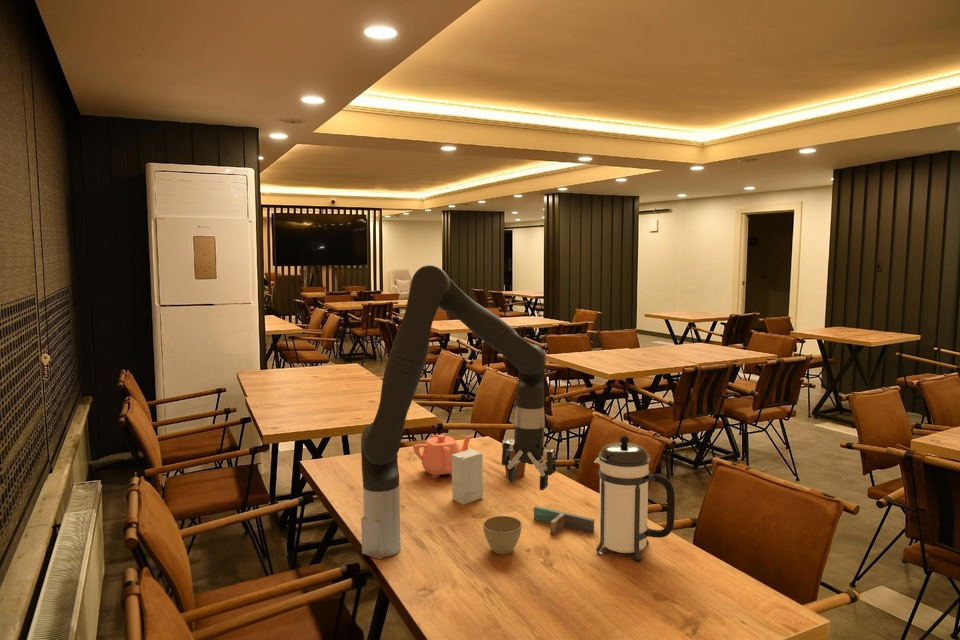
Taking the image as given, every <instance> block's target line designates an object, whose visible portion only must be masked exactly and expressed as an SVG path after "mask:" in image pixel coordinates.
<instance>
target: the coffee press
mask: <svg viewBox="0 0 960 640" xmlns="http://www.w3.org/2000/svg"><path fill="white" fill-rule="evenodd" d="M650 462H651V456H650V454H649V453H648V450H646V449H645V447H643V446H641V445H639V444H637V443H632V442H630V438H629V437H628V436H627V435H622V436H620V438H619V441H617V442H610V443H608V444H606V445H604V446H602V449H601V450H600V451H599V453H598V457H596V459H595V460H594V461H593V463H594V464H598V465H599V468H598V477H599V521H598V522H599V525H598V526H599V527H598V528H599V531H598V532H599V533H598V534H599V535H598V536H599V537H598V538H599V544H598V546H597V547H596V550H595V551H596V553H598V554H599V555H600V556H601V555H604V553H605V552H606V551H608V550H610V551H613V552H617V553H620V554H621V553H622V554H630V555H632V558H633V560H634V562H641V561H642V555H641V552H640V551H642V550H643V549H644V548H645V547H648V545H649V544H650V541H649V540H648V537H650V538H659V539H660V538H665V537H667V536H669V535H670V534H671V533H672V530H673V528H674V525H675V511H676V510H675V508H676V507H675V506H676V505H675V504H676V502H675V501H676V500H675V499H676V495H675V489H674V486H673V484H672V482H671V481H670V479H669V478H667V477H666V476H664V475H662V474H658V473H656V474H653V473H650V470H649V464H650ZM649 481H652V482H653V481H654V482H655V483H659V484H661V485H663V487H664V489H665V492H666V496H667V497H666V525H665V527H663V529H654V528H653V529H652V528H649V525H648V512H649V507H648V506H649V504H648V503H649Z"/></svg>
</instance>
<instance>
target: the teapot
mask: <svg viewBox="0 0 960 640" xmlns="http://www.w3.org/2000/svg"><path fill="white" fill-rule="evenodd" d="M474 436H475V434H469V435H468V436H465V438H464V440H463V443H462V446H461V447H459V445H458V443H457V441H456V440H455V439H454V438H453V437H451V436H447V435H445V434H438V435H436V434H432V435H431V437H428V438H427V439H426V442H425V443H416V444H414V445H413V447H412V449H413V452H414V454H415V455H416V456H417V457H418V459H420V461H421V465H422V467H423V469H424V470H425V472H427V473H428V474H430V478H432V479H438V478H439V477H440V475H449V476H450V477H452V455H453V454H456V453H460V452H463V451H466V450H469V444H470V443H469V442H470V440H471V439H472V438H473V437H474ZM420 448H423V449H422V454H421V451H420Z"/></svg>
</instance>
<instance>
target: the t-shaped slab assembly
mask: <svg viewBox="0 0 960 640" xmlns="http://www.w3.org/2000/svg"><path fill="white" fill-rule="evenodd" d="M533 520H537V521H540V522H544V523H549V524H550V527H549V528H550V532H549V533H550V535H553V536H555V535H556V534H557V533H559V531H561V530H562V529H564V527H566V528H570V529H574V530H578V531H583V532H586V533H591V534H593V533H594V532H595V518H589V517H586V516H582V515H577V514H573V513H568V512H564V511H559V510H555V509H551V508H547V507H542V506H537V505H535V506H534V507H533Z"/></svg>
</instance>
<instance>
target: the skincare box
mask: <svg viewBox="0 0 960 640" xmlns="http://www.w3.org/2000/svg"><path fill="white" fill-rule="evenodd" d="M483 461H484V459H483V453H481V452H480V451H478V450H475V449H472V448H468V450H466V451H463V452H460V453H456V454H453V455H452V476H451V488H452V490H451V493H452V495H451V496H452V497H451V498H452V500H453V501H455V502H457V503H459V504H461V505H467V504H470V503H472V502H475V501H478V500H481V499H483V498H484V488H483V487H484V480H483V479H484V477H483V475H484V474H483V473H484V472H483V469H484V468H483Z"/></svg>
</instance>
